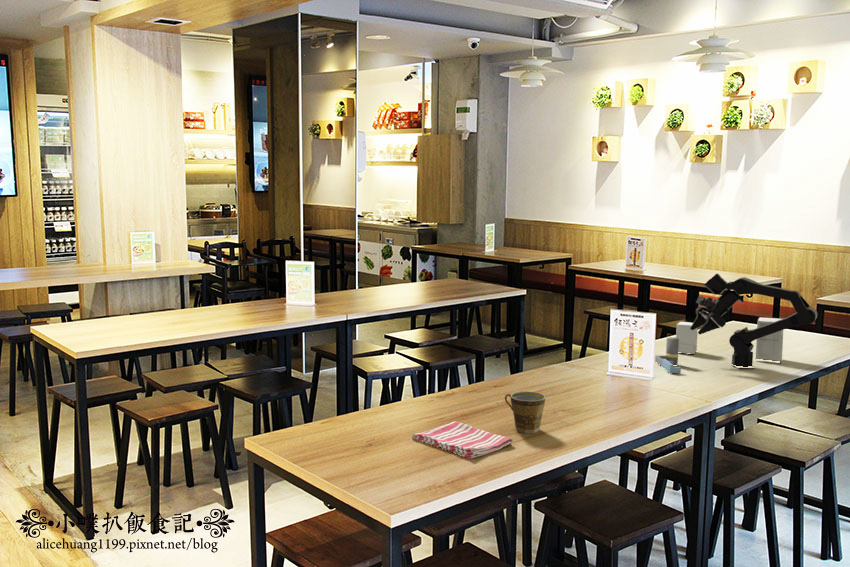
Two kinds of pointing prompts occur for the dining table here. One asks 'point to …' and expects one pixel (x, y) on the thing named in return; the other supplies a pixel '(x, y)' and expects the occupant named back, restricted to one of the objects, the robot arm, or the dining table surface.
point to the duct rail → (667, 364)
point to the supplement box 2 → (769, 342)
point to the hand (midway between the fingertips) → (694, 331)
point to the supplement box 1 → (686, 337)
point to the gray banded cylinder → (672, 350)
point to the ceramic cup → (527, 410)
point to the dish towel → (463, 439)
